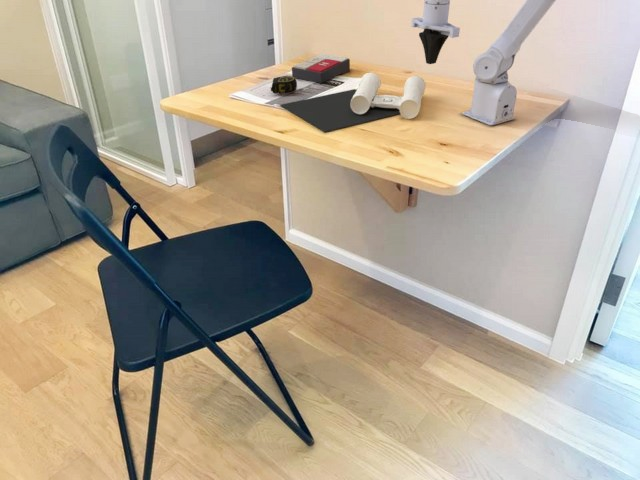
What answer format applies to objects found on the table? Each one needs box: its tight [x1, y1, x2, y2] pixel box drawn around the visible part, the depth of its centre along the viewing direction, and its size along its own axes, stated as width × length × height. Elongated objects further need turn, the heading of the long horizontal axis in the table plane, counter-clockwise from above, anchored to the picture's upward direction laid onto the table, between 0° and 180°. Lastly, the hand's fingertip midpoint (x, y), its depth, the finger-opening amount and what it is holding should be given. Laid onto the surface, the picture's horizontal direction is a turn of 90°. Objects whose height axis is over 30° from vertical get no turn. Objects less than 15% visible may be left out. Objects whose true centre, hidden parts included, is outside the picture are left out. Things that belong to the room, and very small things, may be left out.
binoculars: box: [350, 72, 427, 120], centre depth 131 cm, size 17×5×18 cm
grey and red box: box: [291, 53, 351, 84], centre depth 157 cm, size 11×4×15 cm
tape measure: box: [270, 75, 298, 94], centre depth 143 cm, size 7×7×4 cm
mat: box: [279, 88, 401, 133], centre depth 132 cm, size 22×23×1 cm
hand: (431, 63), depth 128 cm, fingers closed
